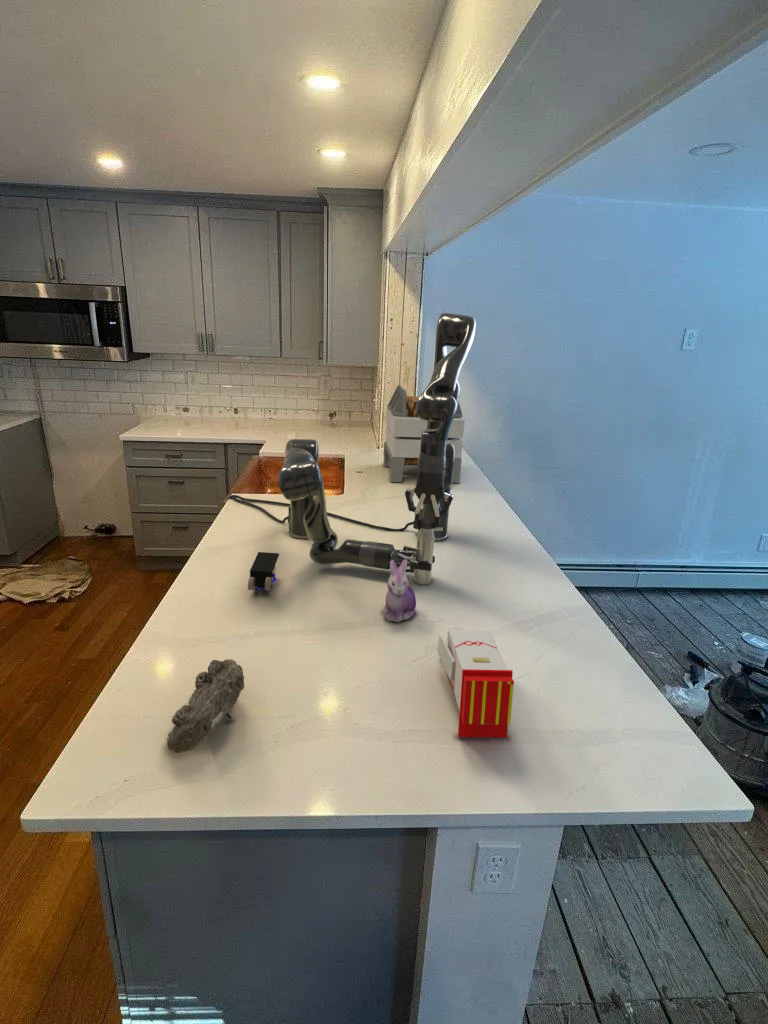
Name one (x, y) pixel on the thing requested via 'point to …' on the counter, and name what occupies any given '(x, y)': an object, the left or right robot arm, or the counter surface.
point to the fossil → (206, 705)
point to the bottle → (424, 554)
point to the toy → (478, 682)
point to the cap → (426, 523)
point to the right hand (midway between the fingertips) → (426, 526)
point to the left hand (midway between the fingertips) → (432, 563)
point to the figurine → (399, 594)
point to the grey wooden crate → (413, 435)
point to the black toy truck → (263, 572)
